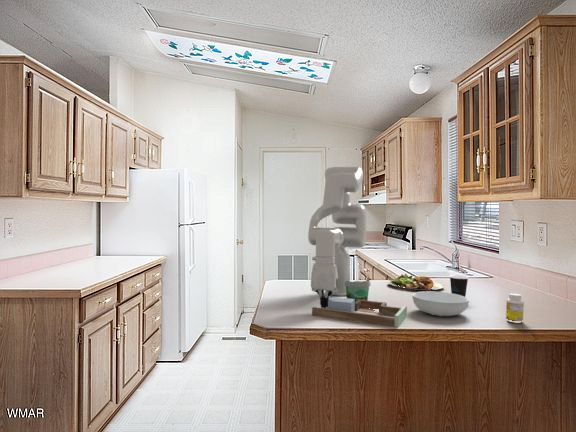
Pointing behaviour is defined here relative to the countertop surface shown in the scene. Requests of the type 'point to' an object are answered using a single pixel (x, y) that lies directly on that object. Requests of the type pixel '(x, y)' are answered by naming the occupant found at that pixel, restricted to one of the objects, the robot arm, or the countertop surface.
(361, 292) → the food container
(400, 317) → the end wall
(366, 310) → the tile
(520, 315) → the supplement bottle
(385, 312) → the channel walls
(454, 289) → the dixie cup
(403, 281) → the plate of food
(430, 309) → the serving bowl
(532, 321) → the countertop surface
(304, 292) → the countertop surface
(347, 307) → the block
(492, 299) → the countertop surface
